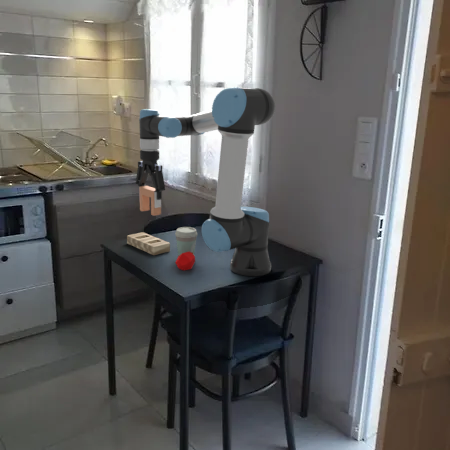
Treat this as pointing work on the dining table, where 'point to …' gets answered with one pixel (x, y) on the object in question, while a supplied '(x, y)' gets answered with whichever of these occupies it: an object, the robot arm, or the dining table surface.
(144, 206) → the clip
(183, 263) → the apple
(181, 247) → the coffee cup
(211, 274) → the dining table surface
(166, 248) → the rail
